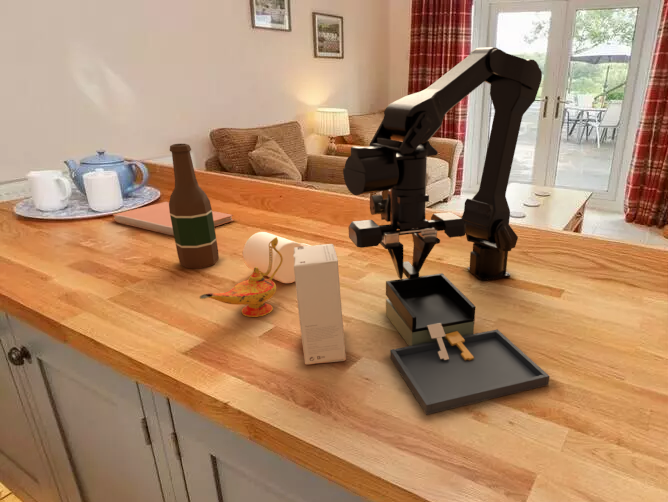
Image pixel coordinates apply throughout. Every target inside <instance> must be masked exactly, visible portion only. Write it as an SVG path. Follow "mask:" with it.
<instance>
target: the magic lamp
mask: <svg viewBox="0 0 668 502" xmlns="http://www.w3.org/2000/svg"><path fill="white" fill-rule="evenodd" d="M270 243H271V245H272V247H271V246H270ZM270 243H269V266H270V267H269V266H268V269H269V268H272V262H271V261H272V259H273V258H272V257H273V256H272V254H273V253H272V252H270V251H272V249H270V248H273V249H274V250H275V251H276V252H277V253H278V254H279V255H280V257H281V261H280V264H279V266H278V267H277V269H276V270H275V272H274V273H273V274H272V276H271V277H268V276H267V275H268V274H269V273H270V272H269V271H271V269H269V270H267V272H265V273H263V272H261V271H259V269H258V267H255V268H254V270H252V274H250V276H249V278H248V279H246V280H243V281H241V282H238V283H236V284H235V285H234V286H233V287H232V288H231V289H230V290H229V291H227V292H223V293H222V292H209V293H203V294H201V295H200V296H199V299H200V300H205V299H212V300H215V301H218V302H221V303H224V304H228V305H236V306H237V305H238V306H239V305H240V306H243V305H246V306H244V307H242V309H241V315H243V316H245V317H250V318H257V317H264V316H265V315H268V314H270V313H271V312H272V311H273V310H274V307H273V306H272V305H271V304H270V303H266V301H268V300H270V299H271V298H272V297H274V295H275V294H276V291H277V285H276V281H273V277H274V275H275V274H276V272H277V271H278V269H279V267H280V266H281V264H282V261H283V258H282V255H281V253H280V252H279V251H278V250H277V249H276V248H275V247H276V246H277V244H278V239H277V237H276V238H274V239H273V240H272V241H271V242H270ZM271 253H272V254H271ZM270 256H272V257H270ZM270 258H272V259H270ZM260 272H261V273H260ZM266 274H267V275H266ZM264 277H268V278H264Z"/></svg>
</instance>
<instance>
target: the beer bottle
mask: <svg viewBox="0 0 668 502" xmlns="http://www.w3.org/2000/svg"><path fill="white" fill-rule="evenodd" d="M191 151H192V148H191V145H190V144H187V143H174V144H170V145H169V152H170V153H171V157H172V166H173V177H174V188H173V190H172V191H171V194H170V196H169V200H168V202H169V211H170V217H171V222H172V228H173V233H174V234H173V235H174V236H173V237H174V243H175V248H176V254H177V258H178V261H179V264H180V265H181V266H182V267H184V268H185V269H202V268H206V267H211V266H214V265H215V264H216V263H217V262H218V261H219V259H220V256H219V246H218V241H217V234H216V228H215V227H216V226H215V227H214V221H213V214H212V211H213V209H212V204H211V200H210V199H209V197H208V195H207V194H206V192H205V191H204V189H202V188H201V187H200V185H199V183H198V180H197V176H196V171H195V168H194V163H193V160H192V159H193V158H192V155H191Z"/></svg>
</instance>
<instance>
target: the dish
mask: <svg viewBox="0 0 668 502" xmlns="http://www.w3.org/2000/svg"><path fill="white" fill-rule="evenodd" d="M403 275H404V276H405V277H406V278H402V279H400V278H399V279H392V280H386V281H385V296H386V298H387V299H389V300H390V302H391V303H392V304H393V306H394V307H395V309H396V310H397V311H398V313H399V314H400V316H401V317H402V319H403V320H404V321H405V323H406V324H407V326H408V327H409V329H410V330H411V331H412V332H417V331H423V330H428V329H427V325H432V324H438V323H441V324H442V327H445V326H450V325H456V324H461V323H467V322H472V321H474V322H475V320H476V310H477V308H476V306H475V305H474V303H473V302H472V301H471V300H470V299H469V298H468V297H467V296H466V295H464V293H463V292H462V291H461V290H460V289H459V288H458V287H457V286H456V285H454V283H453V282H452V281H451V280H450V279H449V278H448V277H447V276H446V275H445V274H444V273H442V272H441V273H435V274H427V275H422V276H420V272H418V271H417V270H416V269H415V268H414V267H413V266H412V264H411V262H410V261H407V260H406V261H403Z"/></svg>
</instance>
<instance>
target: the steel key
mask: <svg viewBox="0 0 668 502" xmlns="http://www.w3.org/2000/svg"><path fill="white" fill-rule="evenodd" d="M427 329H428V332H429V335H430V338H431V340H433V339H436V341H437V344H438V347H439V350H440V351H438V352H437V354H438V357H439V359H440V360H443V361H447V360H449V356H448V354H447V351H446V348H445V345H444V343H443V340H442V338H444V337H446V335H445V332H444V330H443V327H442V324H441V323H438V324H432V325H427Z"/></svg>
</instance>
